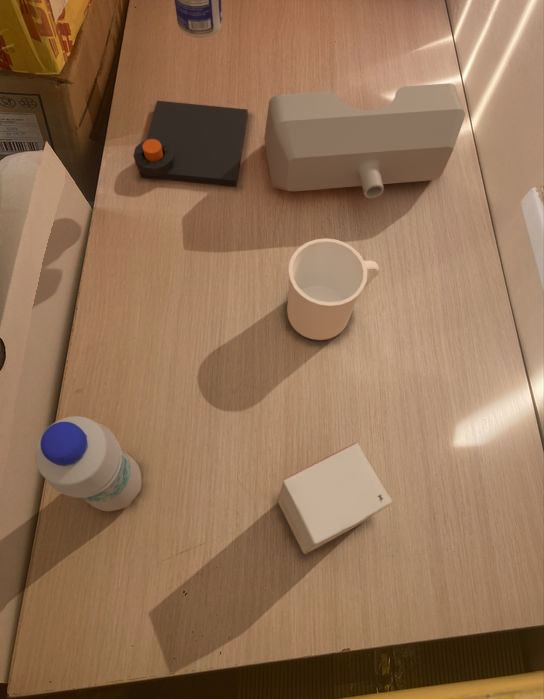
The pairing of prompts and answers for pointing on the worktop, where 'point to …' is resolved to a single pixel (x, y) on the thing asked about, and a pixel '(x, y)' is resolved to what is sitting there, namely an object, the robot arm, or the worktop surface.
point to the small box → (331, 497)
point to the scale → (195, 144)
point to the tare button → (152, 150)
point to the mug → (325, 287)
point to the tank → (361, 139)
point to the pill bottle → (199, 17)
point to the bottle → (87, 463)
